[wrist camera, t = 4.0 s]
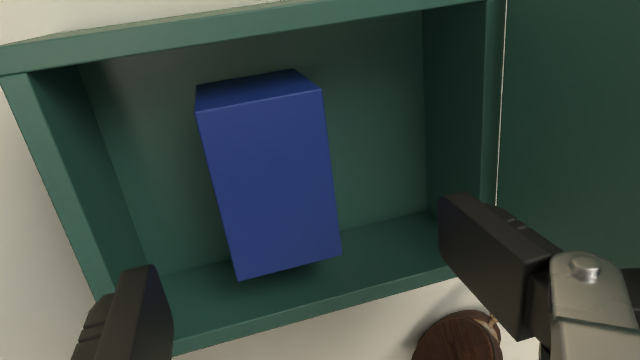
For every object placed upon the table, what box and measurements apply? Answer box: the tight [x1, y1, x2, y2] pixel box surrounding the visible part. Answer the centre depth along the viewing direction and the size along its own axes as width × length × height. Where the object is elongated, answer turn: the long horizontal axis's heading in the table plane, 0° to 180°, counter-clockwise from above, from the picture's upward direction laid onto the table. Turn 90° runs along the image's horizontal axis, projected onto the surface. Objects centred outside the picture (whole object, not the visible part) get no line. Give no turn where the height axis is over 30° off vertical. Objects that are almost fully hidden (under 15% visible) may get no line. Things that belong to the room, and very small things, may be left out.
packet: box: [194, 68, 342, 282], centre depth 18 cm, size 4×7×5 cm, turn 7°
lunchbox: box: [0, 0, 506, 357], centre depth 19 cm, size 17×13×6 cm
